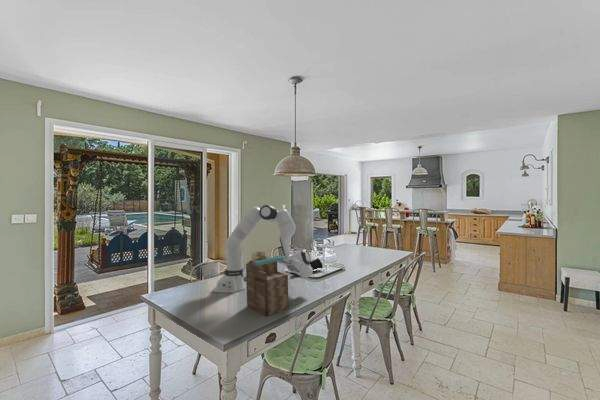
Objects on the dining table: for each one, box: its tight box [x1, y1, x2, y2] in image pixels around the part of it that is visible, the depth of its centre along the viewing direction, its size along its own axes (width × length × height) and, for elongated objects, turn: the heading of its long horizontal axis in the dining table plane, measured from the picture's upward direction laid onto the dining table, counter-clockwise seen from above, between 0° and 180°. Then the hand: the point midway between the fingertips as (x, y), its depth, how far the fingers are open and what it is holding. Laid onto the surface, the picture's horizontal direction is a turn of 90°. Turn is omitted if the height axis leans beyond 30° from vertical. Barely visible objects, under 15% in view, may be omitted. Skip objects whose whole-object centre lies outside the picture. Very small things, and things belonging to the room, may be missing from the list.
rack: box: [245, 250, 290, 317], centre depth 171 cm, size 16×20×32 cm
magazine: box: [291, 257, 324, 276], centre depth 243 cm, size 17×3×30 cm
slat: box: [254, 254, 287, 266], centre depth 176 cm, size 22×4×2 cm, turn 132°
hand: (279, 257), depth 180 cm, fingers open, 6 cm apart
